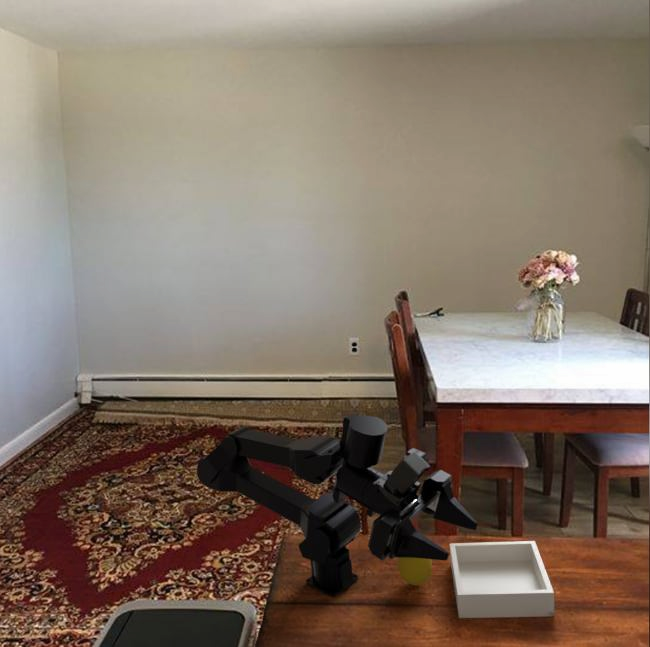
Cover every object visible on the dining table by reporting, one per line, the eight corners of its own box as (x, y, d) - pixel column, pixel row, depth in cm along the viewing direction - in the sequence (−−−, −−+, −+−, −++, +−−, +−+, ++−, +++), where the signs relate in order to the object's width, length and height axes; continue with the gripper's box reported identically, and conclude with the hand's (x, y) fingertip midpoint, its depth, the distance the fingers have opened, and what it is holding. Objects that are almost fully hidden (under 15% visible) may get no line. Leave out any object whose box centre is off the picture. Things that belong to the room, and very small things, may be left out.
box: (458, 618, 105) (457, 594, 104) (450, 564, 118) (449, 543, 117) (554, 616, 103) (554, 592, 102) (535, 562, 117) (534, 540, 116)
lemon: (402, 573, 117) (399, 530, 115) (435, 577, 115) (433, 533, 113) (395, 593, 112) (392, 549, 110) (430, 597, 110) (427, 552, 108)
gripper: (346, 468, 96) (445, 525, 88) (414, 423, 110) (504, 469, 102) (333, 532, 100) (426, 592, 92) (399, 481, 115) (485, 529, 107)
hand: (463, 541), depth 98 cm, fingers open, 9 cm apart
